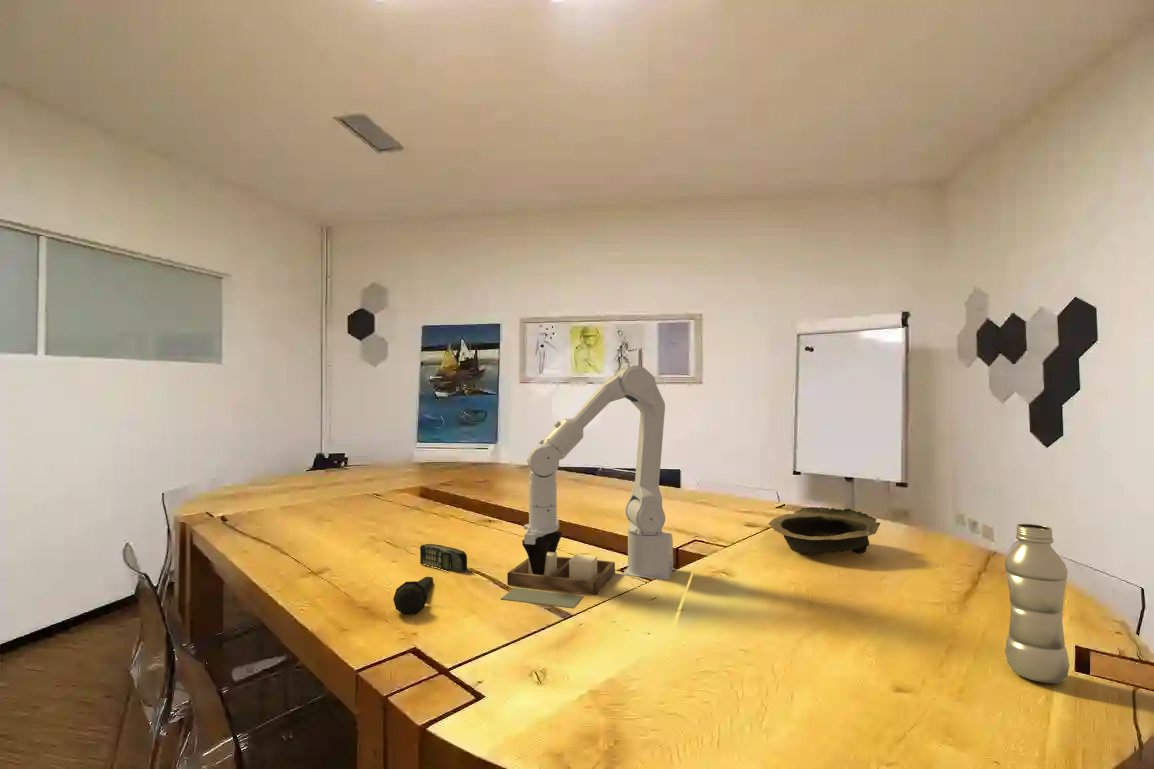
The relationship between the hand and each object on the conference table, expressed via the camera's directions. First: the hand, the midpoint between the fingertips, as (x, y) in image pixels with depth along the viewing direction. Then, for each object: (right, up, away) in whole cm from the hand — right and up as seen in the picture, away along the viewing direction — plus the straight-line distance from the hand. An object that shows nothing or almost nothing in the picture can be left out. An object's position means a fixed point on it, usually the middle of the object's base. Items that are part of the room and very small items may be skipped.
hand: (542, 571), depth 113 cm
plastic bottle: (+68, -1, -40) cm, 79 cm away
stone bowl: (+67, -2, +20) cm, 70 cm away
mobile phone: (-22, -2, +7) cm, 23 cm away
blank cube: (+8, -1, -3) cm, 9 cm away
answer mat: (+1, -1, -12) cm, 12 cm away
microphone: (-22, -2, -11) cm, 24 cm away
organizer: (+4, -2, -1) cm, 5 cm away
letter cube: (0, -1, 0) cm, 1 cm away
